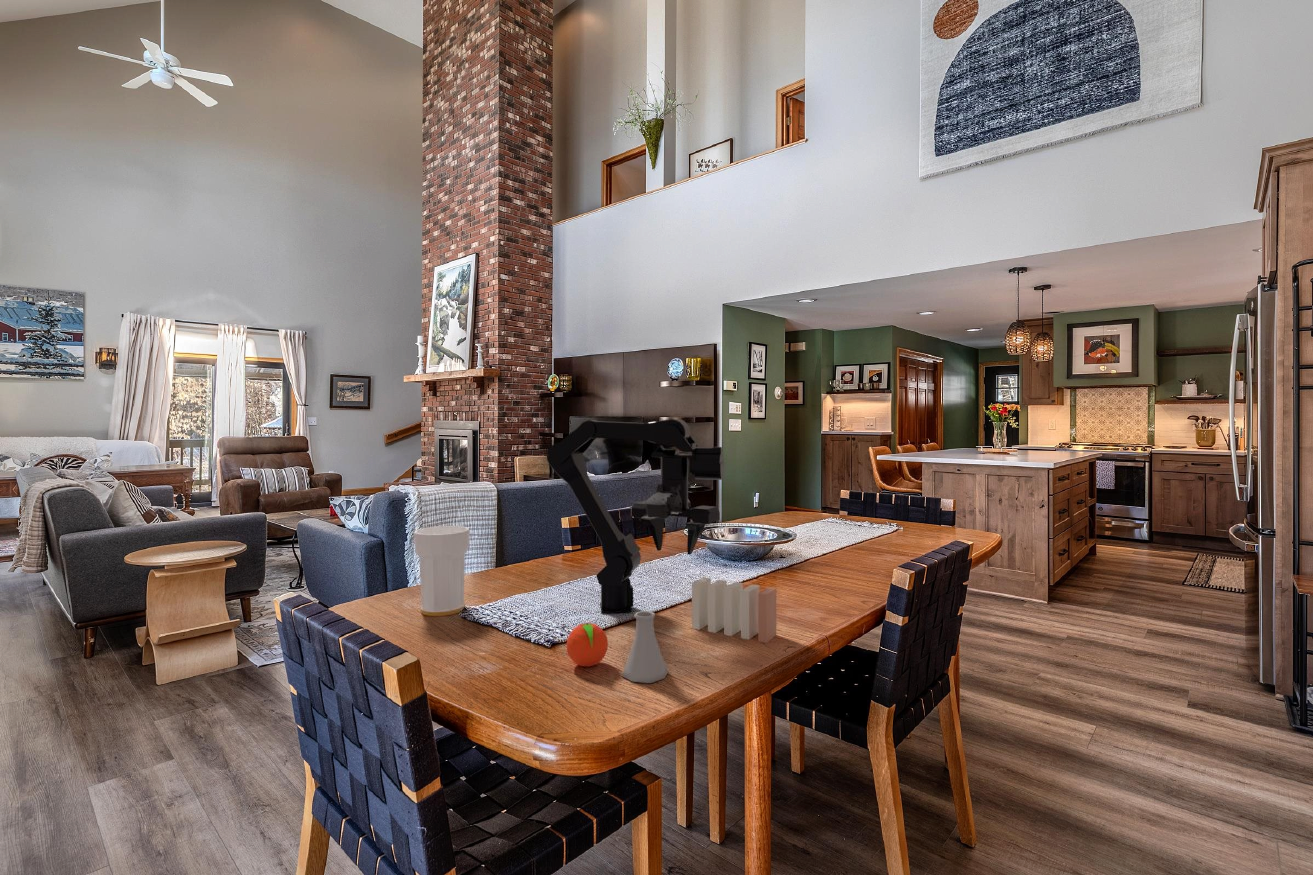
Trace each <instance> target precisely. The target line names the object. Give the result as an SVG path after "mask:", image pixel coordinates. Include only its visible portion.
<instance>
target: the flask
mask: <svg viewBox="0 0 1313 875" xmlns="http://www.w3.org/2000/svg"><path fill="white" fill-rule="evenodd" d="M655 616H656V613H655V612H653V611H650V610H649V611H647V610H641V611H638V612H637V611H636V613H634V619H636V621H635V623H636V625H635V626H636V628H635V633H634V639H633V642H632V645H631V648H630V650H629V653H628V657H627V660H626V662H625V665H624V668H623V670H622V674H621V676H622V677H623V678H625V679H626V680H627V679H628V681H631V682H633V683H634V682H635V683H643V684H652V683H655V682H658V681H660V680H665V678H666V676H667V674H668V672H669V670H668V667H667V664H666V662H665V659H664V657H663V654H662V651H661V648H660V646H659V643H658V640H657V637H656V633H655V628H654V627H655V626H654V618H655Z"/></svg>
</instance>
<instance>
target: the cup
mask: <svg viewBox="0 0 1313 875" xmlns="http://www.w3.org/2000/svg"><path fill="white" fill-rule="evenodd" d="M413 536H414V537H413V539H414V552H415V554H416V555H417V556H418V558H419V574H420V575H419V576H420V579H419V580H420V597H421V599H420V600H421V607H420V613H421V615H424V616H427V617H445V616H446V617H447V616H451V615H455V614H458V613H460V611H461V609H463V608H464V607H465V608H466V603H465V569H466V568H465V564H466V562H465V561H466V560H465V559H466V558H465V556H466V553H467V551H468V550H469V548H470V528H469V527H467V526H462V525H438V526H435V525H434V526H427V527H422V528H419V529H416V530H415V531H414V532H413ZM461 612H462V611H461Z"/></svg>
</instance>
